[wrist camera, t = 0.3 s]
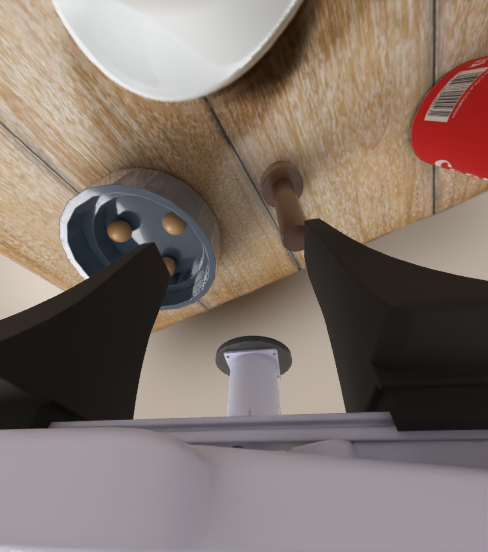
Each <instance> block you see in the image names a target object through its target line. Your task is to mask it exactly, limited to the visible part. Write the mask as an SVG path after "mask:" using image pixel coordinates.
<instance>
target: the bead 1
mask: <svg viewBox="0 0 488 552" xmlns="http://www.w3.org/2000/svg"><path fill="white" fill-rule="evenodd" d="M107 233H108V236H109V237H110V238H111V239H112V240H114V241H116V242H125V241H128V240H129V239H130V238H131V236H132V228H131V226H130V225H129V224H128V223H127V222H125V221H123V220H114V221H112V222H110V223H109V225H108V227H107Z"/></svg>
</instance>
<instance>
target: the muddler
mask: <svg viewBox="0 0 488 552" xmlns="http://www.w3.org/2000/svg"><path fill="white" fill-rule="evenodd" d="M261 188H262V195H263V198H264V200H265V201H266V202H267V203H268V204H269V205H270V206H272V207H275V209H276V214H277V219H278V224H279V229H280V235H281V240H282V244H283V246H284V247H285V248H286V249H288V250H290V251H295V252H296V251H301V250H304V220H307V218H306V216H305V214H304V211H303V209H302V206H301V204H300V202H299V198H300V196H301V194H302V191H303V180H302V177H301V175H300V173H299V171H298V170H297V168H296V167H295V166H294V165H292V164H291V163H288V162H277V163H275V164H273V165H271V166H270V167H269V168H267V170H266V171H265V172H264V174H263V177H262V180H261Z"/></svg>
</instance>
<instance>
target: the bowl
mask: <svg viewBox="0 0 488 552" xmlns="http://www.w3.org/2000/svg"><path fill="white" fill-rule="evenodd" d="M171 211H173V212H174V213H175V214H177V215H178V216H179V217H180V218H182V219H183V220H184V221H186V228H185V230H184V231H183V232H182V233H181V234H178V235H172V234H170V233H168V232H167V231H166V230H165V229H164V227H163V224H162V221H163V217H164V216H165V215H166V214H167V213H168V212H171ZM114 220H123V221H125V222H127V223H128V224H129V225H130V226H131V228H132V236H131V238H130V239H129V240H128V241H125V242H116V241H114V240H112V239H111V238H110V237H109V236H108V233H107V227H108V225H109V223H110V222H112V221H114ZM59 226H60V241H61V243H62V246H63V248H64V250H65V252H66V255H67V257H68V259H69V261H70V262H71V263H72V265H73V266H74V267H75V268H76V269H77V271H78V272H79V273H80V274H81V276H82V277H84V278H85V279H88V278H89V277H91V276H92V275H94V274H95V273H97V272H99V271H100V270H102V269H103V268H105V267H106V266H108V265H109V264H111V263H112V262H114V261H115V260H117V259H118V258H120V257H121V256H123V255H124V254H126V253H127V252H129V251H130V250H132V249H134V248H135V247H137V246H139V245H141V244H143V243H150V242H155V244H156V246H157V248H158V250H159V252H160V254H161V256H162V258H163V257H169V258H171V259H173V260H174V261H175V263H176V266H177V268H176V271H175V273H174V274H173V275H172V276H170V278H169V284H168V288H167V292H166V294H165V297H164V300H163V302H162V305H161V307H160V310H170V309H178V308H182V307H184V306H187V305H190V304H193V303H195V302H196V301H197V300H199V299H200V298H201V297H202V296H204V295H205V294H206V293H207V292H208V290H209V288H210V286H211V285H212V283H213V281H214V279H215V275H216V270H217V264H218V259H219V254H220V245H221V234H220V230H219V226H218V223H217V219H216V217H215V215H214V214H213V212H212V211H211V209H210V208H209V206H208V204H207V203H206V201H205V200H204V199H203V198H202V197H201V196H200V195H199V194H198V193H196V192H195V191H194V190H193V189H192V188H191V187H190V186H189V185H187V184H186V183H185V182H183V181H181V180H179V179H177V178H175V177H173V176H171V175H168V174H166V173H164V172H162V171H157V170H151V169H145V168H139V167H137V168H136V167H135V168H130V169H124V170H119V171H115V172H112V173H111V174H109V175H107V176H106V177H104V178H103V179H101V180H99V181H98V182H96V183H94V184H93V185H91V186H89V187H88V188H86V189H85V190H83V191H82V192H80V193H79V194H77V195H76V196H74V197H73V198H72V199H70V200H69V201H68V202H67V204H66V206H65V208H64V211H63V213H62V215H61V217H60V220H59Z"/></svg>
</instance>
